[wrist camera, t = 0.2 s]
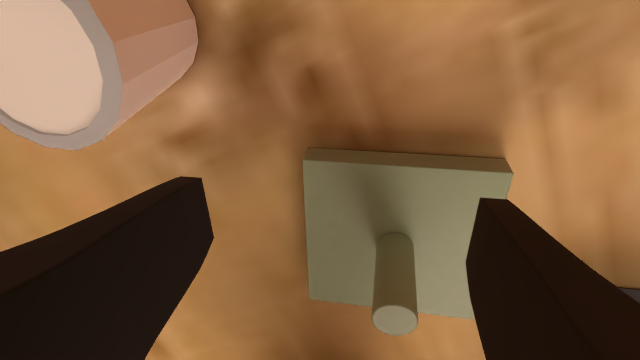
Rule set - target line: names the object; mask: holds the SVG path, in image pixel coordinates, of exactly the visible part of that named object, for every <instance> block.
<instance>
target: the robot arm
mask: <svg viewBox="0 0 640 360" xmlns="http://www.w3.org/2000/svg"><path fill="white" fill-rule="evenodd" d="M213 239H214V236H213V231H212V226H211V221H210V216H209V212H208V207H207V202H206V197H205V192H204V188H203V183H202V178H196V177H182V176H181V177H178V178H175V179H172V180H170V181H167V182H165V183H162V184H160V185H158V186H156V187H153V188H151V189H149V190H147V191H145V192H143V193H141V194H138V195H136V196H134V197H132V198H130V199H128V200H126V201H124V202H121V203H119V204H117V205H115V206H113V207H111V208H109V209H107V210H104V211H102V212H100V213H98V214H95V215H93V216H91V217H88V218H86V219H84V220H82V221H79V222H77V223H75V224H73V225H70V226H68V227H66V228H63V229H61V230H58V231H56V232H54V233H51V234H48V235H46V236H43V237H41V238H38V239H36V240H33V241H30V242H27V243H24V244H22V245H19V246H16V247H13V248H11V249H8V250H5V251H2V252H0V360H145V358H146V356H147V354H148V352H149V351H150V349H151V347H152V345H153V344H154V342H155V340H156V338H157V337H158V335H159V334H160V332H161V331H162V329H163V327H164V326H165V324H166V323H167V321H168V319H169V318H170V316H171V315H172V313H173V312H174V310H175V308H176V307H177V305H178V304H179V302H180V301H181V299H182V297H183V296H184V294H185V293H186V291H187V289H188V288H189V286H190V285H191V283H192V281H193V280H194V278H195V276H196V275H197V273H198V271H199V270H200V268H201V266H202V264H203V262H204V259H205V257H206V255H207V253H208V250H209V248H210V246H211V243H212V241H213ZM465 263H466V271H467V280H468V288H469V295H470V300H471V304H472V308H473V312H474V316H475V320H476V324H477V328H478V331H479V335H480V339H481V342H482V346H483V350H484V354H485V357H486V360H640V303H639V302H637V301H636V300H635V299H633V298H632V297H630V296H629V295H627V294H626V293H624V292H623V291H622V290H620V289H619V288H617V287H616V286H615V285H613V284H612V283H611V282H609V281H608V280H607V279H605V278H604V277H603V276H601V275H600V274H598V273H597V272H596V271H594V270H593V269H592V268H590V267H589V266H588V265H587V264H585V263H584V262H583V261H581V260H580V259H579V258H578V257H576V256H575V255H574V254H573V253H571V252H570V251H569V250H568V249H566V248H565V247H564V246H563V245H561V244H560V243H559V242H558V241H557V240H555V239H554V238H553V237H552V236H551V235H549V234H548V233H547V232H546V231H545V230H543V229H542V228H541V227H540V226H539V225H538V224H536V223H535V222H534V221H533V220H532V219H531V218H529V217H528V216H527V215H526V214H525V213H524V212H522V211H521V210H520V209H519V208H518V207H516V206H515V205H514V204H513V203H511V202H510V201H509V200H507V199H496V198H482V197H480V199H479V204H478V208H477V213H476V217H475V221H474V226H473V230H472V235H471V239H470V244H469V248H468V253H467V257H466V262H465Z"/></svg>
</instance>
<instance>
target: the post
mask: <svg viewBox="0 0 640 360" xmlns="http://www.w3.org/2000/svg"><path fill="white" fill-rule="evenodd" d="M302 166H303V186H304V206H305V227H306V247H307V268H308V288H309V299H310V300H318V301H327V302H335V303H343V304H351V305H359V306H367V307H372V322H373V324H374V326H375V327H376V328H377V329H378V330H380V331H381V332H383V333H386V334H389V335H395V336H400V335H406V334H408V333H411V332H412V331H413V330H414V329H415V328H416V327H417V325H418V313H424V314H432V315H440V316H448V317H456V318H464V319H472V320H473V319H474V312H473V308H472V304H471V300H470V295H469V288H468V280H467V271H466V263H465V262H466V257H467V253H468V248H469V244H470V239H471V235H472V230H473V226H474V221H475V217H476V213H477V208H478V204H479V199H480V197H482V198H496V199H507V195H508V191H509V188H510V184H511V180H512V177H513V172H512V170H511V168H510V166H509V164H508V162H507V161H506V159H498V158H481V157H463V156H446V155H428V154H411V153H393V152H376V151H359V150H341V149H324V148H308V149H307V151H306V153H305V155H304V158H303V160H302Z"/></svg>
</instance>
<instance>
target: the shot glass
mask: <svg viewBox="0 0 640 360" xmlns="http://www.w3.org/2000/svg"><path fill="white" fill-rule="evenodd" d="M197 46H198V35H197V28H196V21H195V16H194V14H193V12H192V10H191V8H190V6H189V4H188V2H187V0H0V123H1V124H2V125H3V126H4V127H6V128H7V129H8V130H9V131H11V132H13V133H15V134H17V135H19V136H21V137H24V138H26V139H28V140H30V141H32V142H35V143H37V144H39V145H41V146H43V147H49V148H58V149H68V150H78V149H81V148H84V147H86V146H89V145H92V144H95V143H97V142H100V141H102V140H103V139H105V138H106V137H107V136H108V135H110V134H111V133H112V132H113V131H115V130H116V129H117V128H118V127H120V126H121V125H122V124H123V123H125V122H126V121H127V120H128V119H130V118H131V117H132V116H133V115H135V114H136V113H137V112H138V111H140V110H141V109H142V108H143V107H145V106H146V105H147V104H148V103H150V102H151V101H152V100H153V99H155V98H156V97H157V96H158V95H160V94H161V93H162V92H163V91H165V90H166V89H167V88H168V87H170V86H171V85H172V84H173V83H175V82H176V81H177V80H178V79H180V78H181V77H182V76H183V75H184V74H185V72H186V71H187V70H188V69H189V67H190V66H191V65H192V64H193V62H194V58H195V54H196V50H197Z"/></svg>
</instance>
